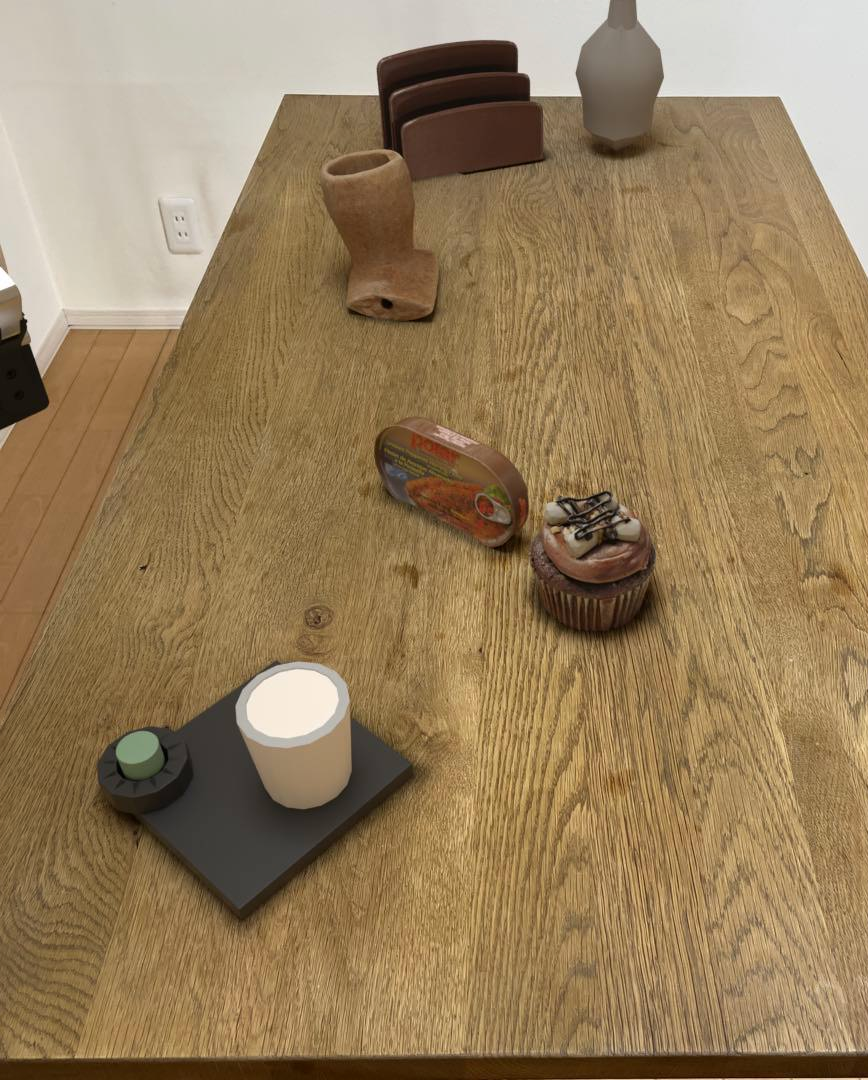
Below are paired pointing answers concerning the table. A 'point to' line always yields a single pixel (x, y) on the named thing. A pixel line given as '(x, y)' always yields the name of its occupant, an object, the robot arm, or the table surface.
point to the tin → (452, 478)
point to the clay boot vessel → (380, 235)
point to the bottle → (619, 78)
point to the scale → (242, 804)
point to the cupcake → (592, 562)
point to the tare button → (140, 755)
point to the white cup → (298, 732)
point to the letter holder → (459, 108)
